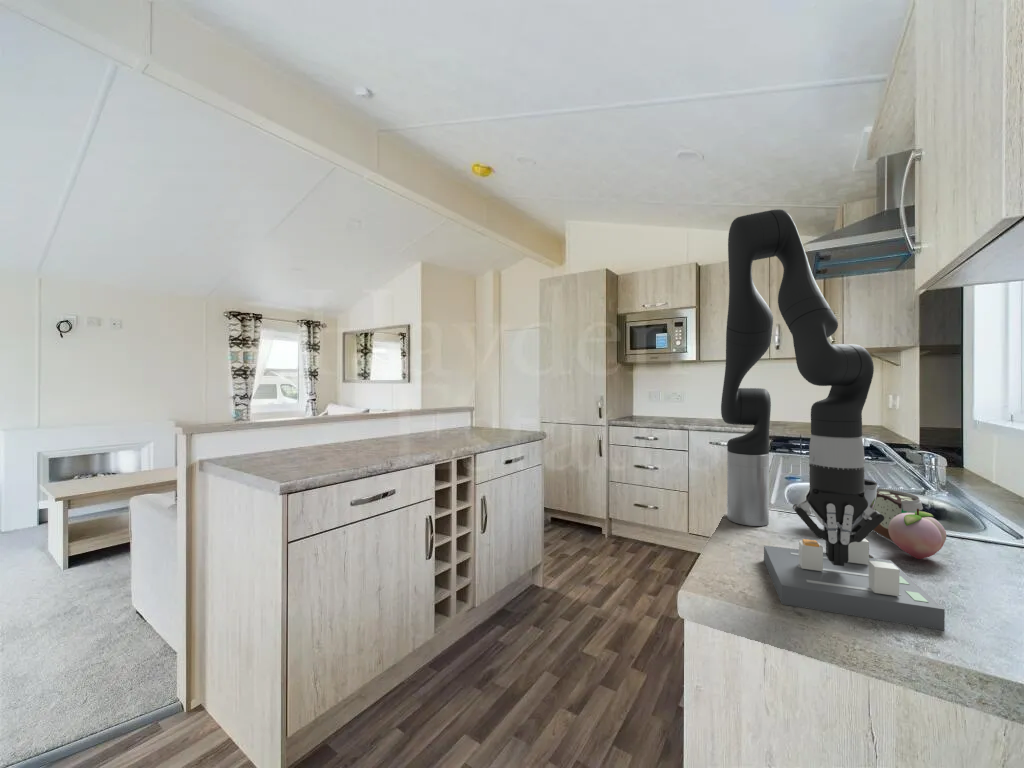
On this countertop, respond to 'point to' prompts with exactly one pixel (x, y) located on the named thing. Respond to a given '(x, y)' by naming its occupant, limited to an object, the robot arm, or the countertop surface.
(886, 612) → the grey flat slab
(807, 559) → the block
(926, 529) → the decorative fruit
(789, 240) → the robot arm
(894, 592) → the breaker
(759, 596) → the countertop surface
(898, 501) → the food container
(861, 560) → the block
